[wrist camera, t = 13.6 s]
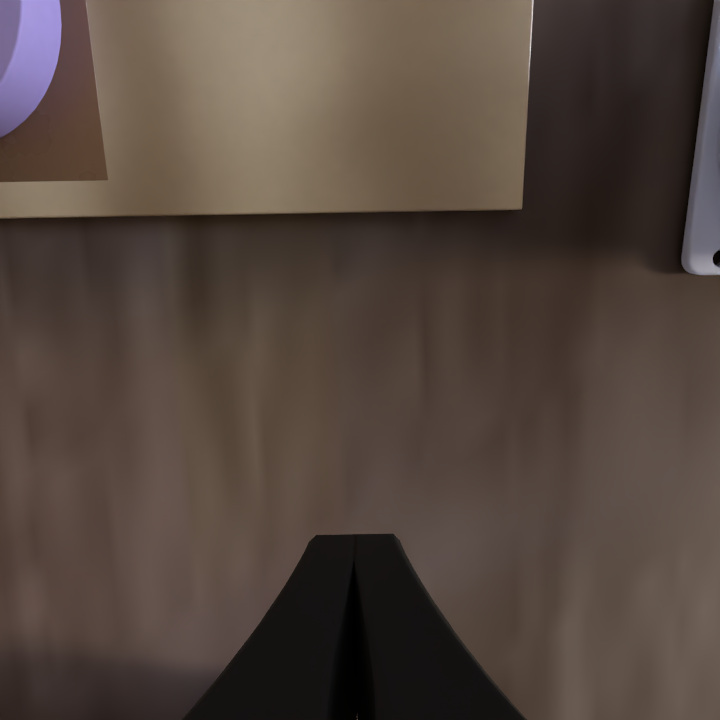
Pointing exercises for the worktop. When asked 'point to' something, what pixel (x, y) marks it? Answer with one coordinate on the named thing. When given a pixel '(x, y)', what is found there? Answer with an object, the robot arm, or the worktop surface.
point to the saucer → (26, 56)
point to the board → (276, 109)
